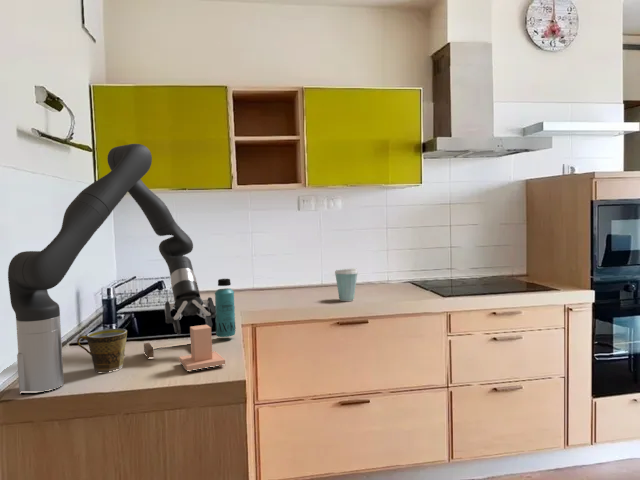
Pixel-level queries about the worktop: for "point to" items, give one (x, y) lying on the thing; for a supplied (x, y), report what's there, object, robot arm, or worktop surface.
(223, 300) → the beverage bottle
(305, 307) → the worktop surface
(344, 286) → the disposable coffee cup
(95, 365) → the ceramic cup
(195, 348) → the footed block
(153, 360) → the worktop surface
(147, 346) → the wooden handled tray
